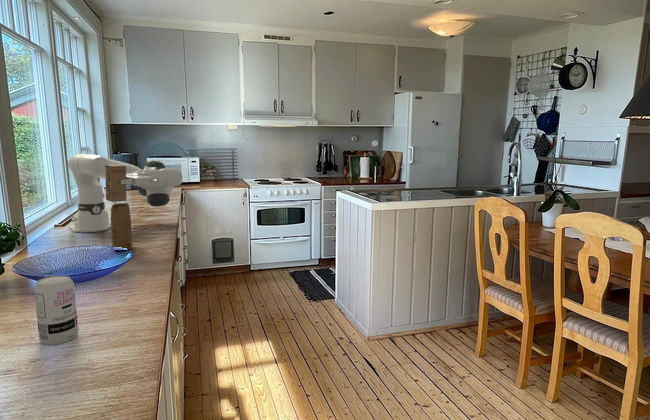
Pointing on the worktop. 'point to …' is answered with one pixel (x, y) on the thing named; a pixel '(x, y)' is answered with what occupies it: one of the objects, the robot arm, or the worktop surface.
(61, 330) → the supplement can
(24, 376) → the worktop surface
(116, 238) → the block
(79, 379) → the worktop surface
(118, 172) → the walnut block
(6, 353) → the worktop surface
